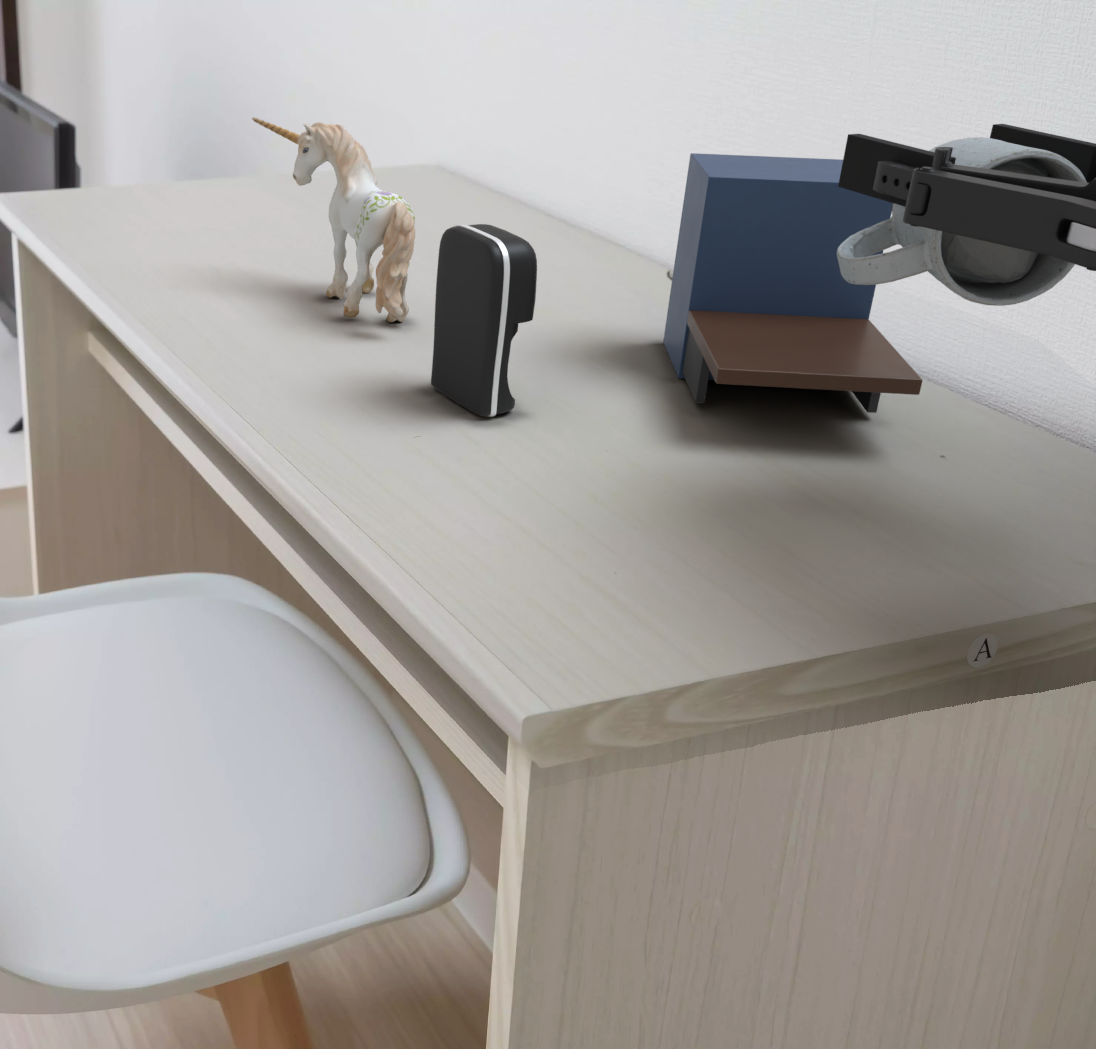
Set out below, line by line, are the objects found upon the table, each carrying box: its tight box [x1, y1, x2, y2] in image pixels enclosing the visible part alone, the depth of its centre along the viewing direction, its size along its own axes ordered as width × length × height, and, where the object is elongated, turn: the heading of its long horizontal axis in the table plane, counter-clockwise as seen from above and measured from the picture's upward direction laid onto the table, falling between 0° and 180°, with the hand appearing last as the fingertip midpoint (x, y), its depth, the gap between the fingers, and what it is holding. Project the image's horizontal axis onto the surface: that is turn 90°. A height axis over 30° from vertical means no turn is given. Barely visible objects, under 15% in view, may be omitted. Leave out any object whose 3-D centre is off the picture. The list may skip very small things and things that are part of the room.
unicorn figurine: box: [251, 116, 416, 323], centre depth 105 cm, size 7×20×13 cm, turn 34°
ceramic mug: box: [837, 136, 1087, 307], centre depth 70 cm, size 11×8×8 cm
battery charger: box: [430, 223, 538, 418], centre depth 87 cm, size 7×4×11 cm, turn 26°
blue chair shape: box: [662, 152, 923, 414], centre depth 89 cm, size 12×20×14 cm, turn 174°
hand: (922, 154), depth 72 cm, fingers closed on ceramic mug, 9 cm apart
